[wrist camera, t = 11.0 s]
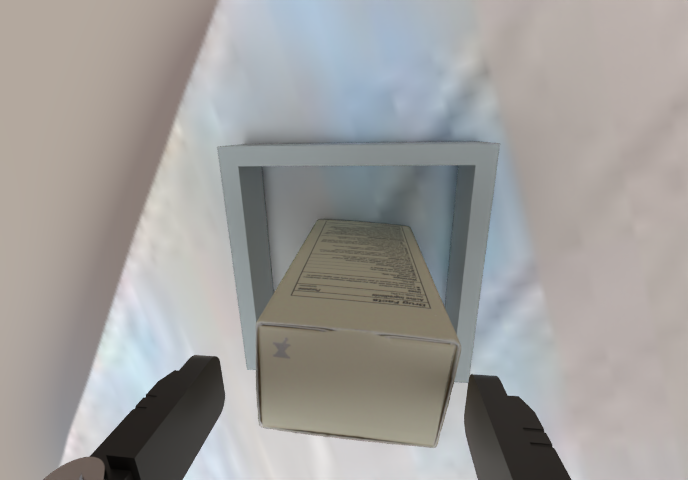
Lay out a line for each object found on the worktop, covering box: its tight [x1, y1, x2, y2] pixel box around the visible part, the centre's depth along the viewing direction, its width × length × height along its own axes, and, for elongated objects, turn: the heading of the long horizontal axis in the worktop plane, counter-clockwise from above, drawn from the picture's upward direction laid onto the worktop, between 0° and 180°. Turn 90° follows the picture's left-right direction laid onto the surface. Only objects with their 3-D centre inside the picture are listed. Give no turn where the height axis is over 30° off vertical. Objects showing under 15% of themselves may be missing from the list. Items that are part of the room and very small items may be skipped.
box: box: [217, 141, 500, 383], centre depth 20 cm, size 14×14×4 cm
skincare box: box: [256, 219, 461, 448], centre depth 16 cm, size 6×4×12 cm
